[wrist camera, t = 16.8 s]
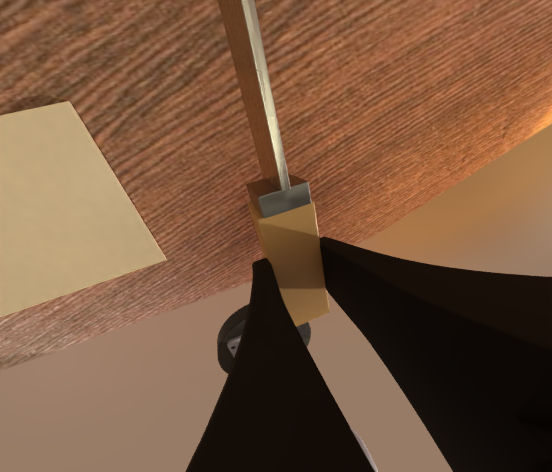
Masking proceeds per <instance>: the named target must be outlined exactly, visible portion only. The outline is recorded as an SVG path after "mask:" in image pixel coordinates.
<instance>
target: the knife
mask: <svg viewBox="0 0 552 472" xmlns="http://www.w3.org/2000/svg"><path fill="white" fill-rule="evenodd" d="M218 3H219V7H220V11H221V15H222V19H223V23H224V26H225V30H226V34H227V38H228V42H229V46H230V50H231V54H232V58H233V62H234V66H235V70H236V74H237V77H238V81H239V85H240V89H241V93H242V97H243V101H244V105H245V109H246V113H247V117H248V121H249V125H250V128H251V132H252V136H253V140H254V144H255V148H256V152H257V156H258V160H259V164H260V168H261V172H262V176H263V179H262V180H258V181H255V182H252V183H248V184H247V188H248V192H249V195H250V198H251V201H252V202H251V203H248V207H249V211H250V214H251V217H252V220H253V223H254V227H255V230H256V233H257V236H258V239H259V243H260V246H261V249H262V252H263V255H264V258H267V259H268V261H269V262H270V263H271V265H272V268H273V271H274V274H275V277H276V280H277V283H278V286H279V289H280V292H281V295H282V298H283V301H284V303H285V306H286V308H287V310H288V312H289V314H290V316H291V318H292V320H293V322H294V324H295V326H299V325H301V324H303V323H305V322H308V321H310V320H312V319H314V318H317V317H319V316H321V315H324V314H326V313H328V312H329V304H328V297H327V290H326V286H325V279H324V272H323V265H322V258H321V250H320V240H319V233H318V225H317V218H316V211H315V204H314V201H313V200H311V195H310V188H309V182H308V181H306V180H303V179H301V178H298V177H295V176H293V175H290V174H288V172H287V166H286V161H285V156H284V151H283V146H282V141H281V135H280V130H279V125H278V120H277V115H276V110H275V104H274V99H273V94H272V89H271V84H270V79H269V73H268V68H267V63H266V58H265V53H264V48H263V42H262V37H261V32H260V27H259V22H258V17H257V11H256V6H255V1H254V0H218Z"/></svg>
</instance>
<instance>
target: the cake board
mask: <svg viewBox="0 0 552 472" xmlns="http://www.w3.org/2000/svg"><path fill="white" fill-rule="evenodd" d="M165 260H166V257H165V255H164V254H163V252H162V250H161V249H160V247H159V245H158V244H157V242H156V241H155V239H154V237H153V236H152V234H151V232H150V231H149V229H148V228H147V226H146V224H145V223H144V221H143V219H142V218H141V216H140V215H139V213H138V211H137V210H136V208H135V206H134V205H133V203H132V202H131V200H130V198H129V197H128V195H127V193H126V192H125V190H124V189H123V187H122V185H121V184H120V182H119V180H118V179H117V177H116V176H115V174H114V172H113V171H112V169H111V167H110V166H109V164H108V163H107V161H106V159H105V158H104V156H103V154H102V153H101V151H100V150H99V148H98V146H97V145H96V143H95V141H94V140H93V138H92V137H91V135H90V133H89V132H88V130H87V128H86V127H85V125H84V124H83V122H82V120H81V119H80V117H79V115H78V114H77V112H76V111H75V109H74V107H73V106H72V104H71V102H68V101H66V102H61V103H56V104H52V105H47V106H42V107H37V108H33V109H28V110H23V111H18V112H14V113H9V114H4V115H0V317H2V316H5V315H8V314H11V313H14V312H17V311H20V310H23V309H26V308H29V307H31V306H34V305H37V304H40V303H43V302H46V301H49V300H52V299H55V298H58V297H60V296H63V295H66V294H69V293H72V292H75V291H78V290H81V289H84V288H87V287H89V286H92V285H95V284H98V283H101V282H104V281H107V280H110V279H113V278H115V277H118V276H121V275H124V274H127V273H130V272H133V271H136V270H139V269H142V268H144V267H147V266H150V265H153V264H156V263H159V262H162V261H165Z"/></svg>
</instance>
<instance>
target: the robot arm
mask: <svg viewBox="0 0 552 472" xmlns="http://www.w3.org/2000/svg"><path fill="white" fill-rule="evenodd" d="M319 240H320V250H321V258H322V265H323V272H324V279H325V286H326V289H327V291H328V293H329V294H330V295H331V296H332V297H333V298H334V300H335V301H336V302H337V303H338V305H339V306H340V307H341V308H342V309H343V311H344V312H345V313H346V314H347V315H348V317H349V318H350V319H351V320H352V321H353V323H354V324H355V325H356V326H357V327H358V329H359V330H360V331H361V332H362V333H363V335H364V336H365V337H366V339H367V340H368V341H369V342H370V343H371V345H372V347H373V348H374V350H375V351H376V352H377V354H378V355H379V357H380V358H381V359H382V361H383V362H384V364H385V365H386V367H387V368H388V370H389V371H390V373H391V374H392V376H393V377H394V379H395V380H396V382H397V383H398V385H399V386H400V388H401V389H402V391H403V392H404V394H405V395H406V397H407V399H408V400H409V402H410V403H411V405H412V406H413V408H414V409H415V411H416V412H417V414H418V416H419V417H420V419H421V420H422V422H423V423H424V425H425V427H426V428H427V430H428V431H429V433H430V435H431V436H432V438H433V440H434V441H435V443H436V444H437V446H438V448H439V449H440V451H441V453H442V454H443V456H444V458H445V459H446V461H447V462H448V464H449V465H450V467H451V469H452V471H453V472H552V277H542V276H541V277H540V276H528V275H514V274H502V273H491V272H482V271H473V270H465V269H458V268H449V267H443V266H436V265H430V264H425V263H420V262H415V261H409V260H405V259H400V258H396V257H392V256H388V255H384V254H380V253H377V252H373V251H370V250H366V249H363V248H360V247H356V246H353V245H350V244H347V243H344V242H341V241H338V240H334V239H331V238H328V237H322V238H319ZM252 268H253V281H252V290H251V298H250V303H249V308H248V313H247V317H246V322H245V325H244V329H243V333H242V335H240V336H238V337H235V338H233V339H231V340H229V341H228V342H227V346H228V348H229V350H230V352H231V353H232V355H233V357H234V361H233V364H232V366H231V369H230V372H229V375H228V377H227V380H226V383H225V385H224V387H223V390H222V392H221V394H220V397H219V399H218V402H217V404H216V406H215V409H214V411H213V413H212V416H211V418H210V420H209V423H208V425H207V427H206V430H205V432H204V434H203V437H202V438H201V441H200V443H199V445H198V447H197V449H196V451H195V453H194V455H193V457H192V459H191V461H190V463H189V465H188V468H187V470H186V472H378V469H377V467H376V465H375V463H374V461H373V459H372V457H371V455H370V453H369V451H368V449H367V447H366V446H365V444H364V442H363V441H362V439H361V438H360V436H359V435H358V434H357V433H356V431H355V430H354V429H353V428H351V427H350V426H349V425H348V423H347V421H346V419H345V417H344V416H343V414H342V412H341V410H340V408H339V407H338V405H337V403H336V401H335V399H334V397H333V396H332V394H331V392H330V390H329V388H328V387H327V385H326V383H325V381H324V379H323V377H322V375H321V374H320V372H319V370H318V368H317V366H316V364H315V362H314V360H313V359H312V357H311V355H310V353H309V351H308V349H307V347H306V345H305V343H304V341H303V339H302V337H301V336H300V334H299V332H298V330H297V328H296V326H295V324H294V322H293V320H292V318H291V316H290V314H289V312H288V310H287V308H286V306H285V303H284V301H283V298H282V295H281V292H280V289H279V286H278V283H277V280H276V277H275V274H274V271H273V268H272V265H271V263H270V262H269V261H268V259H267V258H264V259H261V260H258V261H256V262H254V263H253V264H252Z"/></svg>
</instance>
